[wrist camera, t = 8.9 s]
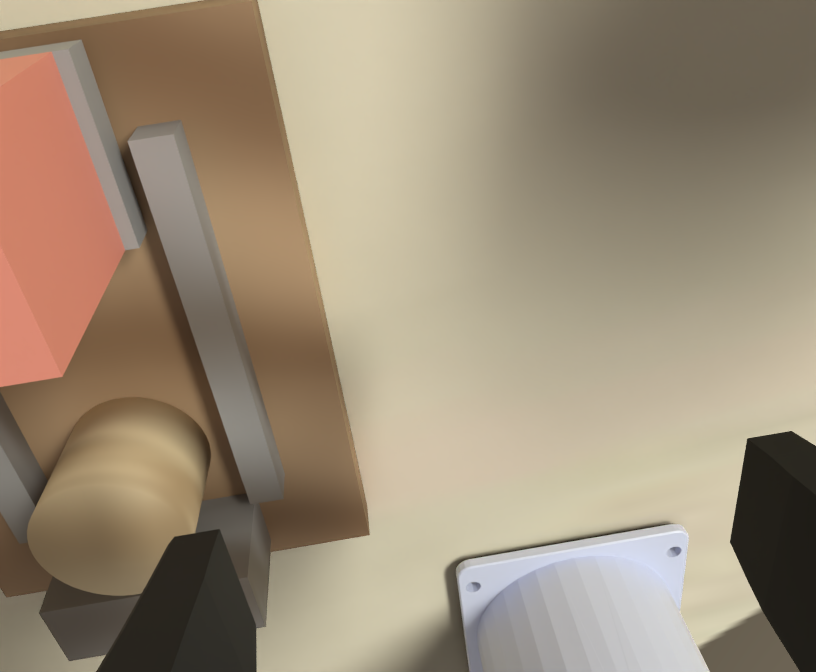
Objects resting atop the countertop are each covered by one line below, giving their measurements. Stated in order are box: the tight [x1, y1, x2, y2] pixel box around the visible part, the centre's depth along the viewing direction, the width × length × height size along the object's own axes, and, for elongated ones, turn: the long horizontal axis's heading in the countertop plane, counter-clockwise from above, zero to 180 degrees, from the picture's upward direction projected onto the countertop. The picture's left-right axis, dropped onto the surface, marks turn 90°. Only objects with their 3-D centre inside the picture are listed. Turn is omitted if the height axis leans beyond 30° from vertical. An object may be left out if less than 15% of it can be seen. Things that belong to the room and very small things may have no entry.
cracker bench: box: [0, 0, 370, 661], centre depth 17 cm, size 15×11×4 cm
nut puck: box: [27, 397, 211, 596], centre depth 18 cm, size 4×4×3 cm
